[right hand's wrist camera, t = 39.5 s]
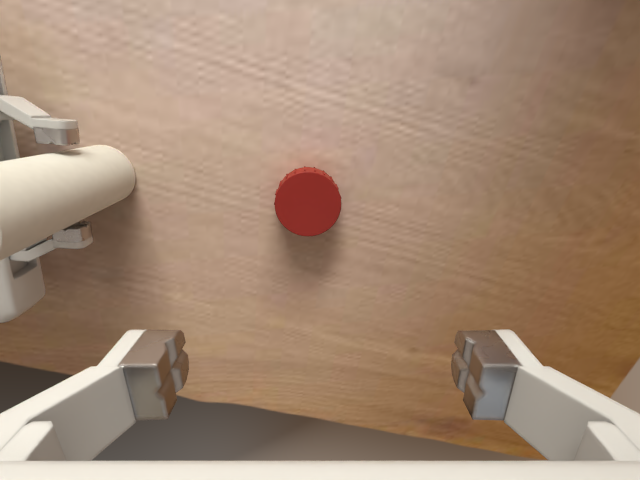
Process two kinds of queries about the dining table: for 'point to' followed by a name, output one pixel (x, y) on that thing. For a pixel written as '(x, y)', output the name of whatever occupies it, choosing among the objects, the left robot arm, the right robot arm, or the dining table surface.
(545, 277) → the dining table surface
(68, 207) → the bottle
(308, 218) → the lid
